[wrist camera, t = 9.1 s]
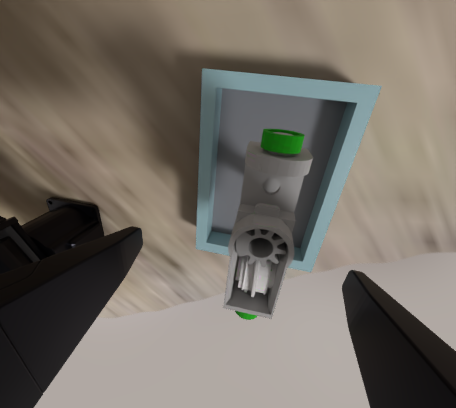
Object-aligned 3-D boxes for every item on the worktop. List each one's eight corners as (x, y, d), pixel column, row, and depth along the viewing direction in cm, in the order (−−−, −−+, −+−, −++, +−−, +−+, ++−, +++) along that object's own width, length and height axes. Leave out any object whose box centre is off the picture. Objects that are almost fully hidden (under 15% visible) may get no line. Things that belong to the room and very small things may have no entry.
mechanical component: (297, 117, 16) (330, 142, 7) (271, 230, 21) (271, 329, 12) (258, 112, 16) (242, 131, 7) (241, 224, 21) (219, 316, 12)
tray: (204, 230, 24) (195, 248, 21) (213, 73, 17) (202, 68, 14) (306, 250, 22) (311, 272, 19) (361, 88, 15) (381, 85, 13)
